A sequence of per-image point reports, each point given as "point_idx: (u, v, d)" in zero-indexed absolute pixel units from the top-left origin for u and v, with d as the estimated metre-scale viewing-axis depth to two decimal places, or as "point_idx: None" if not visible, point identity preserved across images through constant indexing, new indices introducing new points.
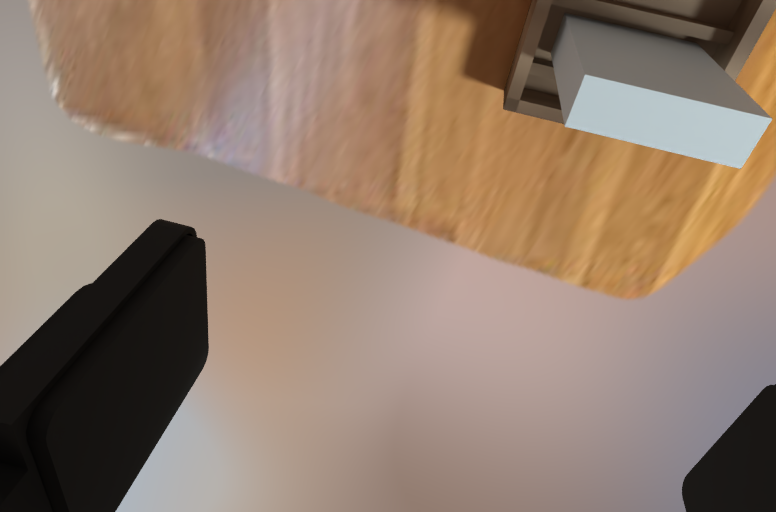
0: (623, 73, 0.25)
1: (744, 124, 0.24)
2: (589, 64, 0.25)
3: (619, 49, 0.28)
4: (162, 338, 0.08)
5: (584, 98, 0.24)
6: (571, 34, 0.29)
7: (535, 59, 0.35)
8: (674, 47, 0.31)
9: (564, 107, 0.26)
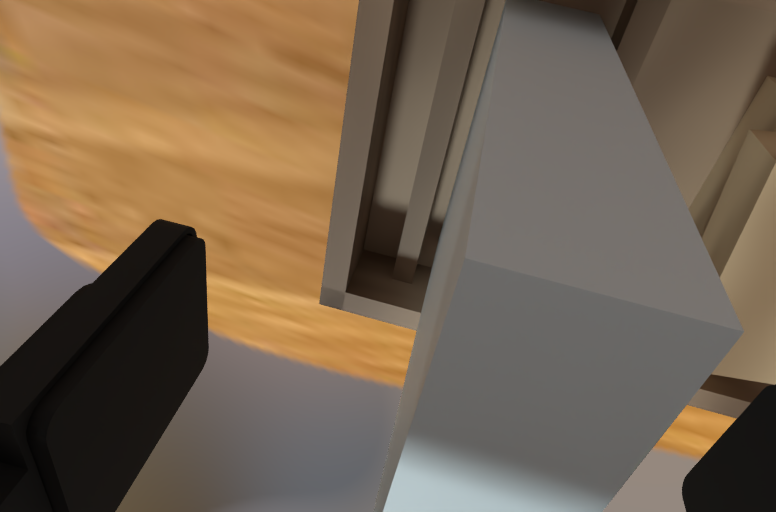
0: None
1: None
2: None
3: None
4: (162, 338, 0.08)
5: (608, 330, 0.05)
6: (625, 75, 0.10)
7: None
8: None
9: (504, 179, 0.06)
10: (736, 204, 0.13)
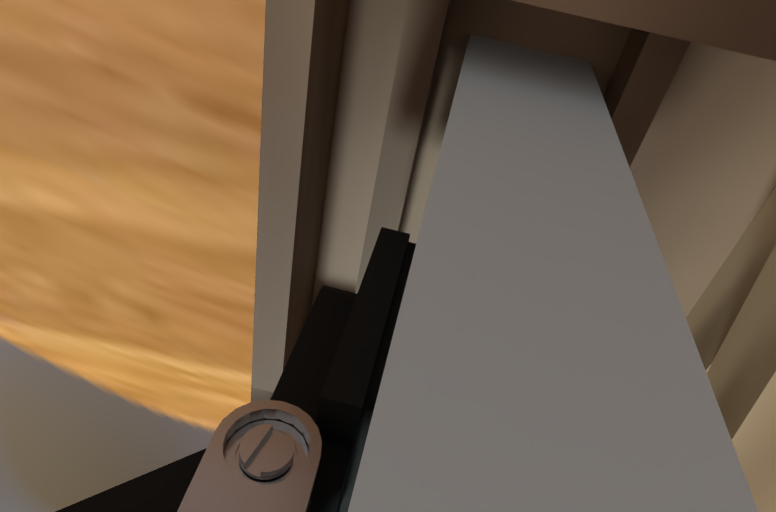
0: None
1: None
2: None
3: None
4: None
5: None
6: (631, 180, 0.07)
7: None
8: None
9: None
10: (773, 315, 0.10)
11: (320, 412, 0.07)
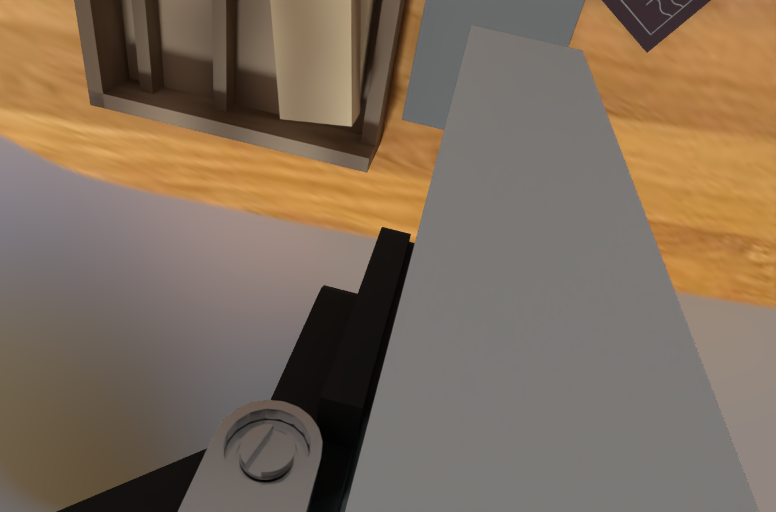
0: None
1: None
2: None
3: None
4: None
5: None
6: (617, 147, 0.08)
7: None
8: None
9: (418, 413, 0.03)
10: None
11: (321, 412, 0.07)
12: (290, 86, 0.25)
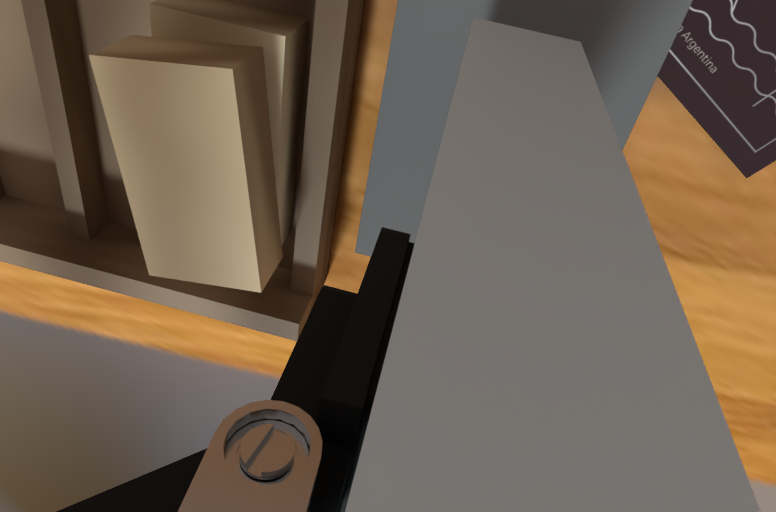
0: None
1: None
2: None
3: None
4: None
5: None
6: (612, 130, 0.08)
7: None
8: None
9: (429, 347, 0.04)
10: None
11: (321, 412, 0.07)
12: (157, 232, 0.15)
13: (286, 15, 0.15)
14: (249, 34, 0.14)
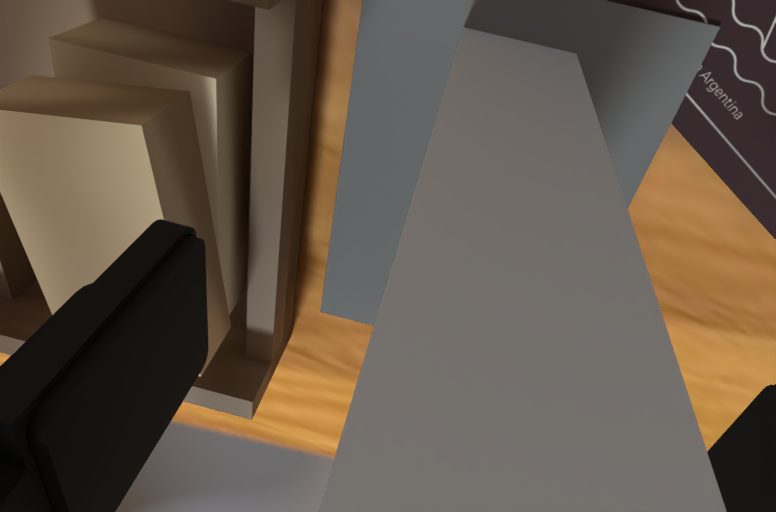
0: None
1: None
2: None
3: None
4: (162, 338, 0.08)
5: None
6: (608, 159, 0.07)
7: None
8: None
9: (384, 462, 0.03)
10: None
11: None
12: None
13: (224, 49, 0.12)
14: (172, 76, 0.11)
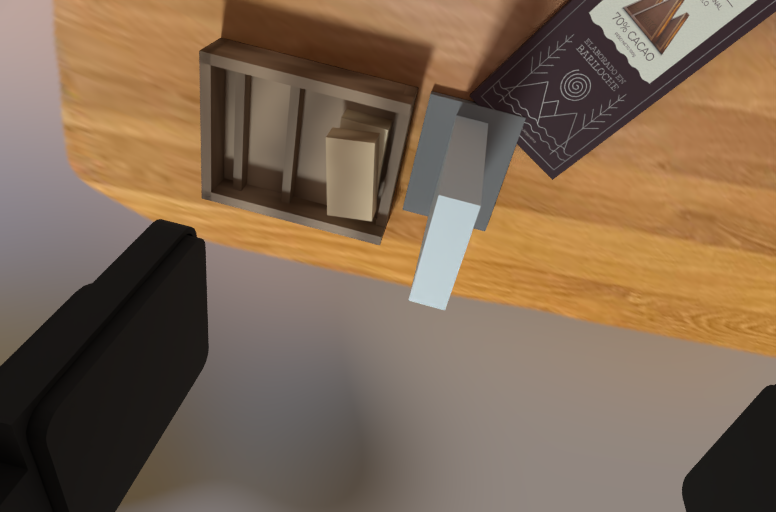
0: None
1: (440, 297, 0.35)
2: None
3: None
4: (162, 338, 0.08)
5: (461, 206, 0.31)
6: (485, 152, 0.36)
7: None
8: None
9: (446, 182, 0.32)
10: None
11: None
12: (334, 197, 0.42)
13: (384, 119, 0.41)
14: (375, 128, 0.40)
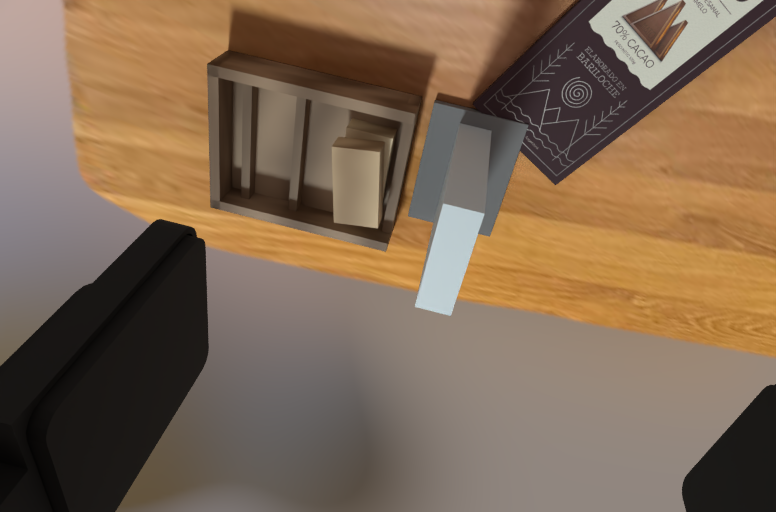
0: None
1: (446, 303, 0.36)
2: None
3: None
4: (162, 338, 0.08)
5: (465, 214, 0.32)
6: (488, 160, 0.37)
7: None
8: None
9: (450, 190, 0.33)
10: None
11: None
12: (341, 205, 0.42)
13: (389, 127, 0.42)
14: (380, 137, 0.41)
